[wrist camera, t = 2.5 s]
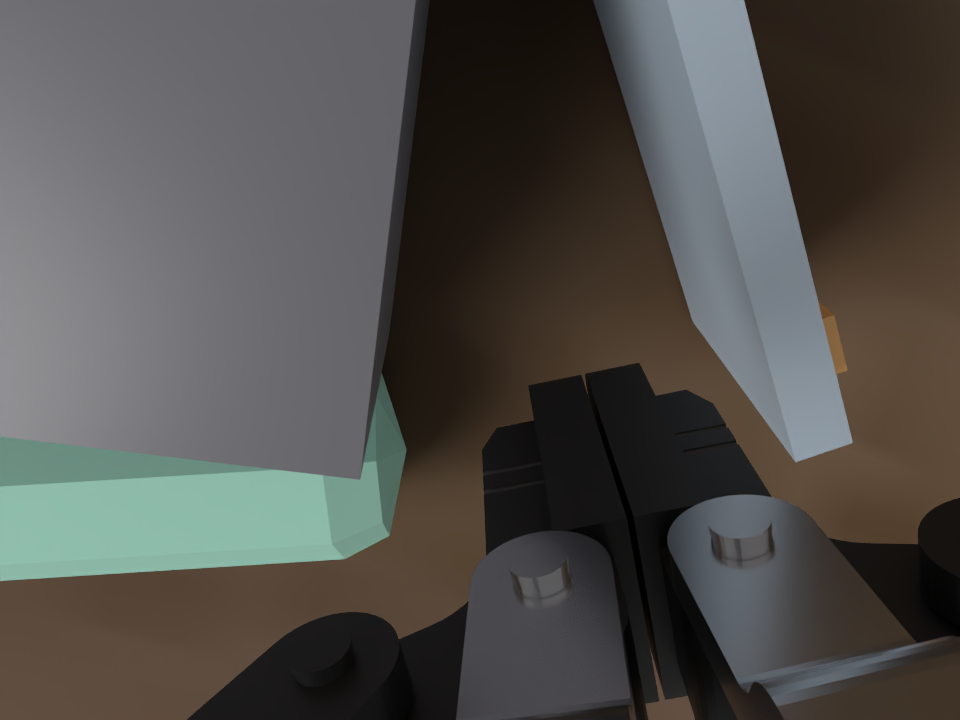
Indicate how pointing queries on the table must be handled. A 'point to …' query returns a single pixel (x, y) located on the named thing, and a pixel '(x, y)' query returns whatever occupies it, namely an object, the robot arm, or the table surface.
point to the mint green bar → (186, 508)
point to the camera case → (203, 223)
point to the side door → (729, 208)
